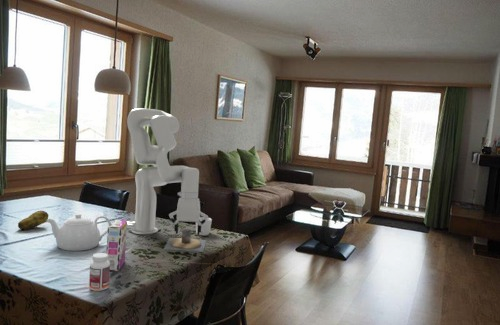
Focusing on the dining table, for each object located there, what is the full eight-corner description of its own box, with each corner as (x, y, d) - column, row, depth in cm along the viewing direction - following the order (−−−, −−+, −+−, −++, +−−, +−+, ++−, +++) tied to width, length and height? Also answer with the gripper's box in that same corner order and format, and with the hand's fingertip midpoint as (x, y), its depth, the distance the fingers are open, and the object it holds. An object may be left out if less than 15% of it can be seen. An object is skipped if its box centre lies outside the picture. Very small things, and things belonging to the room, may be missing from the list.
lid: (169, 247, 181) (170, 233, 180) (173, 239, 194) (174, 225, 193) (199, 249, 181) (200, 235, 181) (201, 241, 194) (202, 227, 194)
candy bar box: (119, 271, 151) (121, 227, 150) (104, 271, 151) (107, 226, 149) (125, 261, 162) (127, 220, 161) (112, 260, 162) (114, 219, 160)
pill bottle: (106, 282, 141) (108, 251, 140) (111, 289, 136) (112, 257, 135) (87, 285, 138) (88, 253, 136) (91, 292, 132) (92, 259, 131)
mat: (163, 250, 179) (163, 249, 179) (169, 238, 196) (169, 237, 196) (203, 252, 180) (203, 251, 180) (205, 241, 197) (205, 240, 196)
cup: (206, 239, 200) (207, 223, 199) (190, 237, 201) (191, 220, 201) (212, 233, 210) (213, 218, 210) (197, 231, 212) (198, 216, 211)
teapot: (80, 255, 164) (81, 221, 163) (44, 247, 171) (45, 214, 169) (111, 243, 182) (112, 213, 180) (77, 236, 188) (78, 206, 187)
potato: (16, 227, 194) (16, 210, 194) (46, 225, 202) (47, 208, 201) (18, 231, 188) (18, 214, 187) (49, 229, 195) (50, 212, 194)
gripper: (168, 196, 181) (166, 234, 182) (208, 198, 182) (206, 236, 183) (171, 193, 188) (169, 230, 190) (209, 195, 189) (207, 232, 191)
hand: (187, 233), depth 187 cm, fingers open, 9 cm apart
